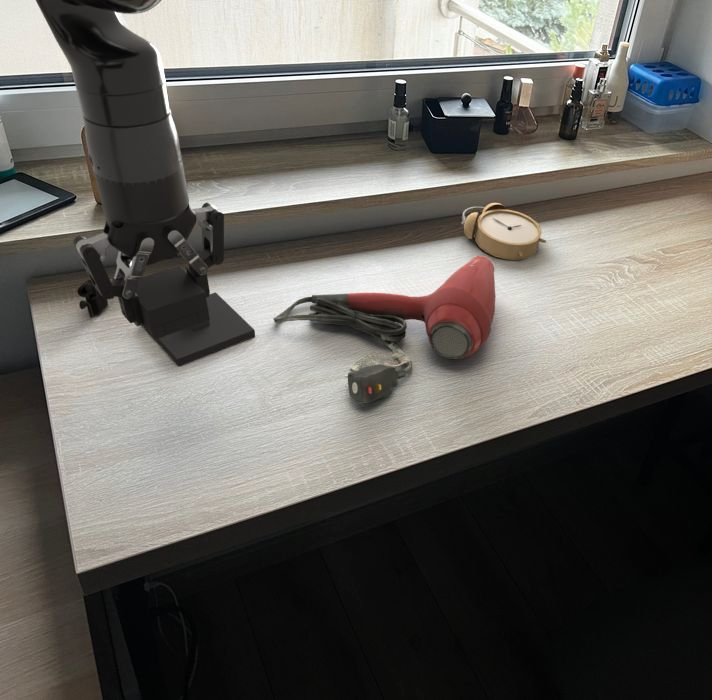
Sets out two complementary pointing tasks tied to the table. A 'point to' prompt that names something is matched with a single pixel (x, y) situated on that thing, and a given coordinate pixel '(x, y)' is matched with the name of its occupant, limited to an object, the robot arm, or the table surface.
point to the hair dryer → (382, 310)
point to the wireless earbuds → (91, 299)
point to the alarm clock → (503, 231)
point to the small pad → (171, 302)
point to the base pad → (207, 333)
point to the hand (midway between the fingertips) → (169, 310)
